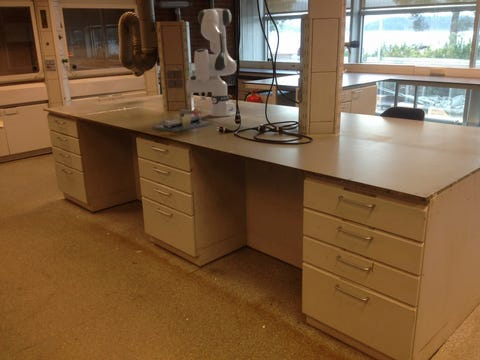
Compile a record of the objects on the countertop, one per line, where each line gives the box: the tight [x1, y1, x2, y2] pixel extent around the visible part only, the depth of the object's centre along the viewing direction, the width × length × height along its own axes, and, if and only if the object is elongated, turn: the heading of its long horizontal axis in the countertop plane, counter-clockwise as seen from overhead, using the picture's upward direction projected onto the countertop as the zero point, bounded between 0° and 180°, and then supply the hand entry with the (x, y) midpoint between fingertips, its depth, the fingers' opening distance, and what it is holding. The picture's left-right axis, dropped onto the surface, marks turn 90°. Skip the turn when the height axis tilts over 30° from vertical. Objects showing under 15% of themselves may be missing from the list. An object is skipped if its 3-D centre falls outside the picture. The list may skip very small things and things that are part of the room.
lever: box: [178, 108, 202, 116], centre depth 276 cm, size 17×4×4 cm, turn 52°
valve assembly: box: [152, 114, 213, 133], centre depth 282 cm, size 30×22×7 cm
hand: (203, 99), depth 275 cm, fingers closed
